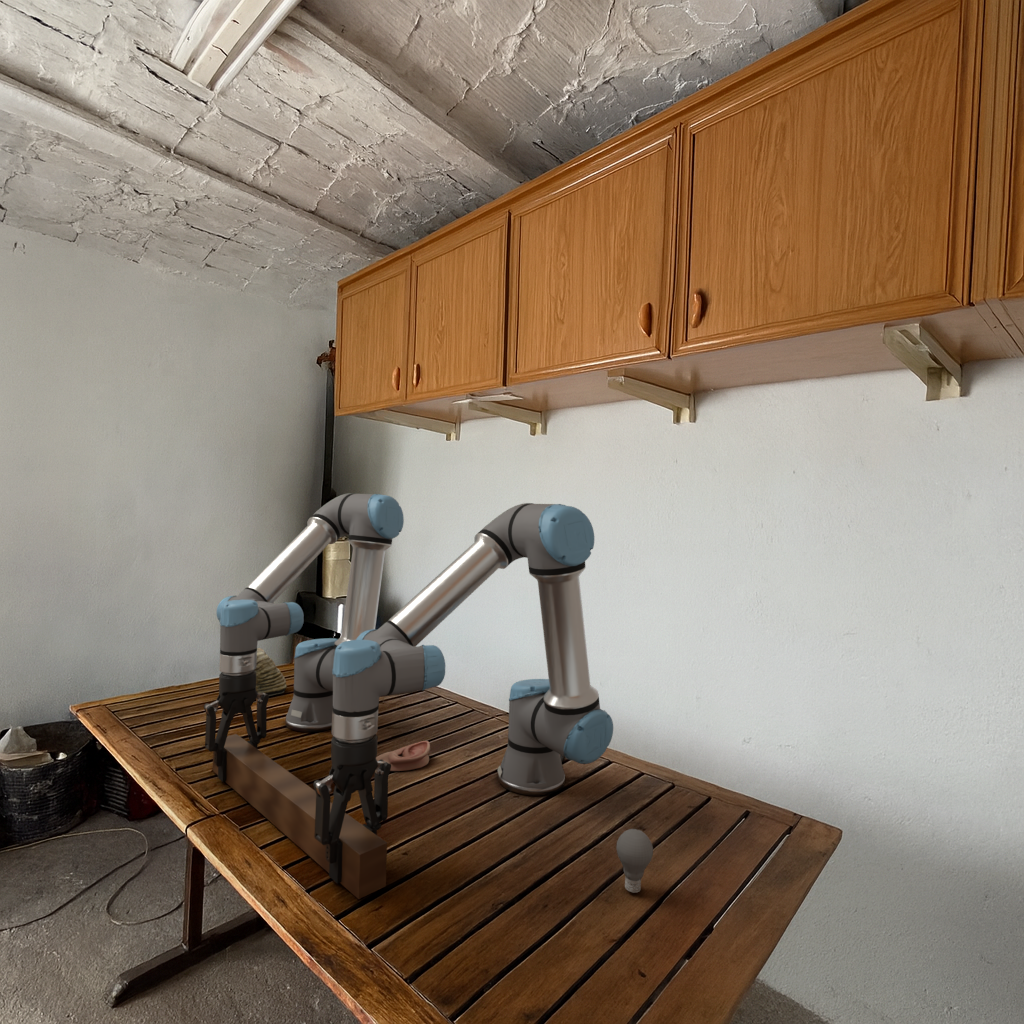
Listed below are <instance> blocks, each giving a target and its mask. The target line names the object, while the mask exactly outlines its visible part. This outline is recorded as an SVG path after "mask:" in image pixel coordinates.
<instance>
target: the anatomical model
mask: <svg viewBox="0 0 1024 1024" xmlns="http://www.w3.org/2000/svg"><path fill="white" fill-rule="evenodd" d="M430 751H431V743H430V742H429V741H428V740H423V741H417V742H415V743H412V744H408V745H405V746H403V747H399V748H398V749H394V750H391V751H387V752H384V753H381V754H380V755H377V756H376V760H377V761H379V760H380V759H382V760H384V761H386V762H388V763H389V764H391V769H390V772H400V771H401V772H402V771H411V770H415V769H421V768H423V767H425V766H427V765H428V764H429V761H430V757H429V755H428V754H429V753H430Z"/></svg>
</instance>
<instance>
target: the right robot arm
mask: <svg viewBox="0 0 1024 1024" xmlns="http://www.w3.org/2000/svg"><path fill="white" fill-rule="evenodd" d="M592 524H593V523H592V522H591V520H590V519H589V518H588V516H587V515H586V514H585V513H584V512H583V511H582V510H581V509H579V508H577V507H575V506H571V505H566V504H561V503H532V502H525V503H524V502H523V503H520V504H516V505H514V506H512V507H510V508H508V509H507V510H505V511H503V512H502V513H501V514H499V515H497V516H496V517H495V518H494V519H493V520H491V521H490V522H488V524H486V525H485V526H483V528H482V529H480V530H479V531H478V532H477V533H476V534H475V535H474V540H473V541H474V542H473V543H472V544H471V545H469V547H468V548H467V549H465V550H464V551H463V552H462V553H461V554H460V555H459V556H458V557H456V558H455V559H454V560H453V561H452V562H451V563H450V564H448V565H447V567H445V568H444V569H443V570H442V571H441V572H440V573H439V574H438V575H436V576H435V578H433V579H432V580H431V581H430V582H428V584H427V585H426V586H424V587H423V588H422V589H421V590H419V592H418V593H416V595H414V596H413V597H412V598H411V599H410V600H409V601H408V602H407V603H405V604H404V606H402V607H401V608H400V609H399V610H398V611H397V612H395V613H394V614H393V615H392V616H391V617H390V618H389V619H388V620H387V621H385V622H384V623H383V624H382V625H381V626H380V627H379V628H378V629H377V628H375V629H371V630H367V631H364V632H363V633H361V634H360V635H359V636H358V637H357V639H356V640H350V641H345V642H342V643H341V644H339V645H338V646H337V647H336V649H335V655H334V663H333V672H332V674H333V710H332V729H330V730H331V735H332V738H331V740H330V741H331V743H330V760H331V767H330V770H329V772H328V776H325V778H323V779H321V780H319V779H316V780H314V782H313V784H312V785H313V790H315V792H316V811H315V833H314V838H315V839H316V840H317V841H319V842H320V843H321V844H322V845H326V852H325V858H326V860H327V861H328V862H329V873H328V877H329V878H330V879H331V880H332V881H334V882H335V883H336V884H341V883H340V882H342V847H343V843H342V842H341V841H340V840H339V836H340V832H341V828H342V824H343V820H344V816H345V813H346V812H347V809H348V808H347V807H348V803H349V802H350V801H351V799H352V795H353V794H354V793H355V792H358V796H359V801H360V805H361V810H362V814H363V818H364V822H365V823H364V824H362V825H363V826H364V827H366V828H367V829H369V830H370V831H371V832H373V833H374V834H376V835H377V836H378V831H379V830H381V828H382V824H381V822H385V821H387V819H388V814H389V812H388V811H389V776H390V772H391V771H390V769H391V764H389V763H388V762H386V761H384V760H382V759H380V760H379V761H377V760H376V757H377V756H378V741H379V739H378V738H379V736H378V735H377V733H378V731H379V708H380V698H381V697H387V696H392V695H397V694H398V695H399V694H404V693H405V694H406V693H412V692H419V691H422V692H423V691H425V690H428V689H431V688H436V687H438V686H440V685H441V684H442V682H443V681H444V679H445V677H446V659H445V656H444V654H443V651H442V650H441V648H439V647H438V646H437V645H434V644H430V645H429V644H428V645H425V644H421V645H419V644H420V643H421V642H422V641H423V640H424V639H425V638H427V637H428V635H429V634H431V633H432V632H433V631H434V630H435V629H436V628H437V627H438V626H439V625H441V624H442V622H443V621H444V620H445V619H446V618H448V616H449V615H451V614H452V613H453V612H454V611H455V610H456V609H458V607H459V606H461V604H463V602H464V601H466V600H467V599H468V597H470V596H471V595H472V594H473V593H474V592H476V590H477V589H478V588H479V587H480V586H482V585H483V584H484V583H485V582H486V581H487V580H488V579H489V578H490V577H491V576H492V575H493V574H495V572H497V571H498V570H499V569H502V570H504V569H506V568H507V567H509V565H511V564H512V563H513V562H514V561H516V560H519V559H523V558H526V559H527V566H528V573H529V575H530V576H531V577H533V578H534V579H536V581H537V586H538V587H537V588H538V595H539V605H540V612H541V613H540V614H541V622H542V623H541V624H542V631H543V640H544V642H543V643H544V649H545V658H546V659H545V660H546V668H547V674H548V675H547V676H548V678H529V679H522V680H519V681H516V682H514V683H513V684H512V685H511V687H510V692H509V698H508V702H509V703H508V726H507V727H508V728H507V729H508V731H507V735H508V736H507V746H506V750H505V753H504V755H503V758H502V760H501V763H500V764H499V765H498V767H497V774H498V776H497V777H498V778H497V779H498V783H499V785H500V786H501V787H503V788H504V789H505V790H508V791H510V792H512V793H515V794H519V795H522V796H523V795H524V796H535V797H536V796H538V797H539V796H548V795H551V794H555V793H556V792H559V791H561V790H562V789H563V788H564V786H565V782H566V773H565V770H564V768H563V763H562V762H563V761H564V758H565V759H567V760H568V761H571V762H572V761H573V762H575V763H577V764H580V765H588V764H592V763H594V762H595V761H597V760H598V759H600V758H601V757H602V756H603V755H604V754H605V752H606V751H607V749H608V747H609V745H610V743H611V741H612V739H613V734H614V721H613V719H612V717H611V715H610V714H609V713H608V712H607V711H606V710H604V709H601V705H600V704H601V703H600V694H599V691H598V690H597V688H595V687H594V686H593V685H592V684H591V678H590V667H589V659H588V658H589V657H588V649H587V639H586V638H587V637H586V630H585V620H584V611H583V609H584V608H583V600H582V591H581V581H580V575H581V574H582V573H583V572H584V571H585V569H586V561H587V560H588V559H589V558H590V556H591V555H592V552H591V551H592V550H593V549H594V547H595V530H594V528H593V525H592ZM373 775H374V778H373V779H374V781H373V785H372V780H371V779H372V777H373ZM332 785H334V788H333V790H332ZM332 791H333V792H332ZM331 793H332V794H333V799H332V802H331ZM373 794H374V795H373ZM330 802H331V803H332V807H331V811H330Z"/></svg>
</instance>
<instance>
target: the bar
mask: <svg viewBox="0 0 1024 1024" xmlns="http://www.w3.org/2000/svg"><path fill="white" fill-rule="evenodd" d="M215 740H216V738H215ZM247 741H248V740H246V739H244V738H243V737H241V736H240V735H238V734H237V733H234V734H229V735H227V738H226V742H225V746H224V749H225V750H226V751H227V772H226V781H225V783H226V785H228V786H229V787H230V788H231V789H232V790H234V791H235V792H236V793H237V795H240V796H241V797H242V798H243V799H244V800H245V801H246V802H248V804H249V805H251V806H252V807H253V808H254V809H255V810H256V811H257V812H258V813H260V814H261V815H262V816H263V817H264V818H266V819H267V820H268V821H269V822H270V823H271V824H272V825H273V826H274V827H276V828H277V829H278V830H279V831H280V832H281V833H283V835H285V836H286V837H287V838H288V839H289V840H291V841H292V842H293V843H294V844H295V845H296V846H297V847H298V848H300V849H301V851H303V852H304V853H305V854H306V855H307V856H308V857H310V858H311V859H312V860H313V861H314V862H315V863H317V864H318V866H320V867H321V868H322V869H323V870H324V871H326V872H327V873H328V874H329V862H328V861H327V860H326V858H325V852H326V845H322V844H321V843H320V842H319V841H317V840H316V839H315V838H314V833H315V811H316V792H315V789H314V788H312V787H310V786H309V785H308V784H306V783H305V782H304V781H302V780H301V779H299V778H298V777H297V776H295V775H294V774H292V773H291V772H290V771H289V770H287V769H286V768H285V767H284V766H282V765H280V764H279V763H277V762H276V761H275V760H273V759H272V758H270V757H269V756H268V755H266V754H265V753H263V752H262V751H261V750H260V749H258V748H257V749H256V748H255V747H254V746H252V745H251V744H249V743H248V742H247ZM212 772H213V773H214V774H215V775H216V776H218V767H217V766H216V765H215V764H214V751H212ZM332 803H333V802H331V801H330V811H331V807H332ZM339 840H340V841H341V842H342V843H343V847H342V882H340V883H339V884H340V885H341V886H342V887H344V888H345V889H346V890H347V891H348V892H349V893H351V895H353V896H354V898H356V899H358V900H361V899H363V898H365V897H366V896H369V895H370V894H372V893H375V892H377V891H378V890H381V889H383V888H385V887H387V857H388V856H387V855H388V842H387V841H386V840H384V839H382V838H381V837H380V836H379V835H378V834H377V835H376V834H374V833H373V832H371V831H370V830H369V829H367V828H366V827H364V826H363V824H362V823H361V822H359V821H357V820H356V819H355V818H353V817H352V816H351V815H350V814H348V813H346V812H345V816H344V820H343V824H342V828H341V832H340V836H339Z"/></svg>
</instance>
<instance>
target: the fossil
mask: <svg viewBox="0 0 1024 1024" xmlns="http://www.w3.org/2000/svg"><path fill="white" fill-rule="evenodd" d="M255 671H256V691H257V693H262V692H264V693H266V694H267V695H269V697H271V696H275V695H281V694H284V693H285V691H286V689H287V687H288V686H287V680H286V678H285V676H284V674H283V673H282V672H281V669H279V668H278V667H277V665H276V663H275V662H274V660H273V659H272V658H271V657H270V656H269V655H268V654H267V653H266V652H265V650H264V649H263V648H260V647H257V667H256V669H255Z"/></svg>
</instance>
